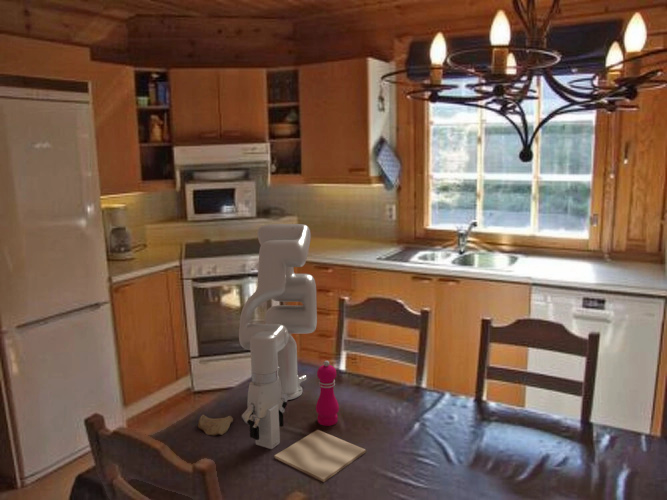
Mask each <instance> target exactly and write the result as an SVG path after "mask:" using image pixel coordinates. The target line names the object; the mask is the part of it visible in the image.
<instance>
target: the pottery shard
mask: <svg viewBox="0 0 667 500" xmlns="http://www.w3.org/2000/svg"><path fill="white" fill-rule="evenodd" d="M233 422H234V418H233V417H232V416H231V415H228V416H226V417H220V418H219V417H218V418H211V417H208V416H206V415H205V414H202V415H201V416H200V417H199V420H198V423H197V427H198V428H199V429H200V430H202V431H203V432H204V434H206V435H208V436H217V435H220V436H223V435H224V434H226V433H227V432H228V430H229V428H230V425H231V424H232V423H233Z"/></svg>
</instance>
